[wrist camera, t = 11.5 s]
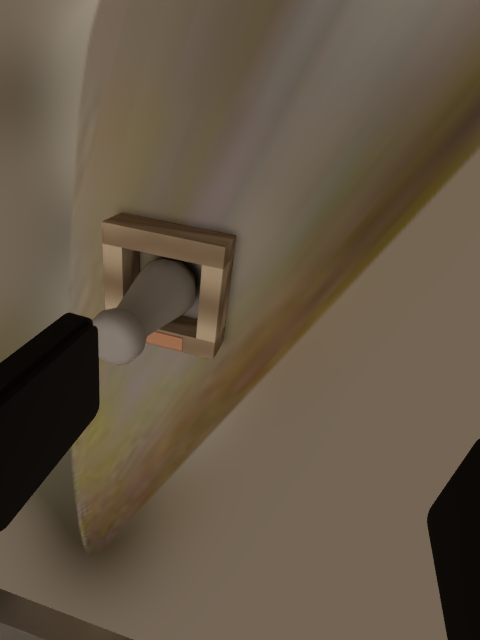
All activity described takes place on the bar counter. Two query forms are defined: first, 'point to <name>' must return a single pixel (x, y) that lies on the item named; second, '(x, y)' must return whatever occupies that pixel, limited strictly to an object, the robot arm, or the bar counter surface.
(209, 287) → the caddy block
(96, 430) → the bar counter surface
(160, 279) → the salt shaker
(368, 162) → the bar counter surface
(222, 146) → the bar counter surface
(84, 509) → the bar counter surface
